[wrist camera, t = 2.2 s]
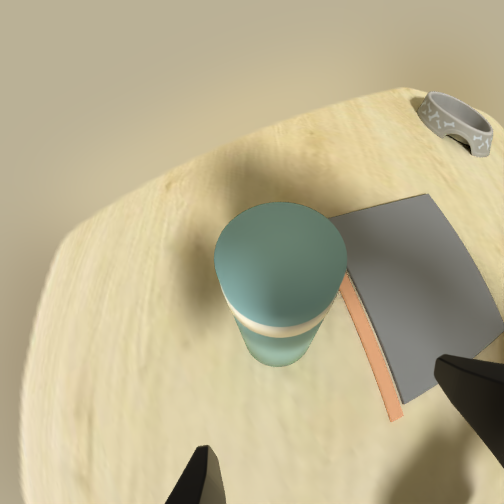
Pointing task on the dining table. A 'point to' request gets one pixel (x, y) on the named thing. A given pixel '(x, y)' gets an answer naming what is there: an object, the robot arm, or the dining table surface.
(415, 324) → the mat
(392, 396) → the orange strip
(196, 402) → the dining table surface
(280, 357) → the teal cylinder
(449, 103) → the dog bowl
